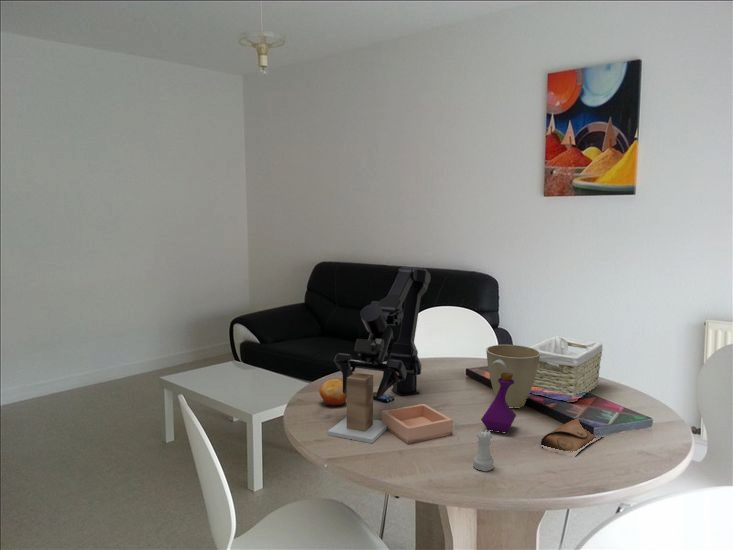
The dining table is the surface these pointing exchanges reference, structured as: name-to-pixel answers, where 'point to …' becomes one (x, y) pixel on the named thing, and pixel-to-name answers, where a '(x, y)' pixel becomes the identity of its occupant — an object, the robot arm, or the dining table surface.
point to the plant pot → (513, 370)
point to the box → (417, 423)
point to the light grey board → (366, 436)
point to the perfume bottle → (500, 406)
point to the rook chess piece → (483, 452)
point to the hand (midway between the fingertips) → (360, 395)
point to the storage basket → (567, 365)
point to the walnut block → (359, 401)
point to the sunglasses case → (568, 437)
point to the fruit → (333, 392)
